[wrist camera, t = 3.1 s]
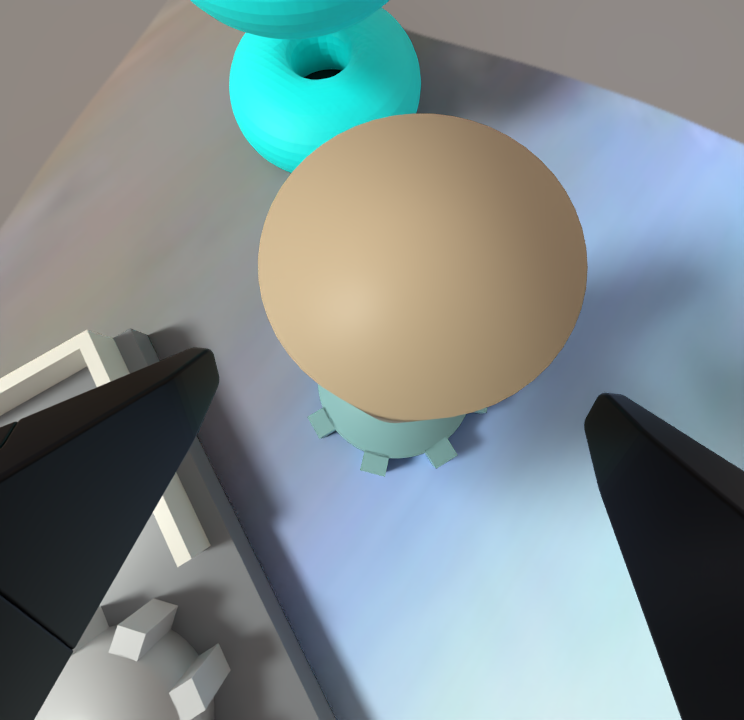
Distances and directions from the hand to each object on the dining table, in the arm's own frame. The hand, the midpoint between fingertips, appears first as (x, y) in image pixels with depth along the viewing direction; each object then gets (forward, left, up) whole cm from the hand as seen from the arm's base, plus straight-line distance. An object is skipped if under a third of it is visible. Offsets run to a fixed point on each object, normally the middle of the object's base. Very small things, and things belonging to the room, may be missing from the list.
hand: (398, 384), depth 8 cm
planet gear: (+1, -1, -9) cm, 9 cm away
